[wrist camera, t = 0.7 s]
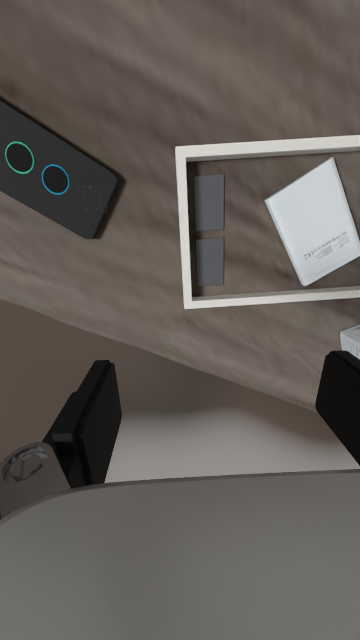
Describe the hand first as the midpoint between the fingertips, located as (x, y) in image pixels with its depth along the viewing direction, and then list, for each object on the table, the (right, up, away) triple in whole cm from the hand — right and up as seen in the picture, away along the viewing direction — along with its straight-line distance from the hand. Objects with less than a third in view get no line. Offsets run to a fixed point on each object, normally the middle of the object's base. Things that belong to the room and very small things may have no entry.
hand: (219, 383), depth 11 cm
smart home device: (-19, +21, +17) cm, 33 cm away
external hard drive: (+15, +15, +20) cm, 30 cm away
